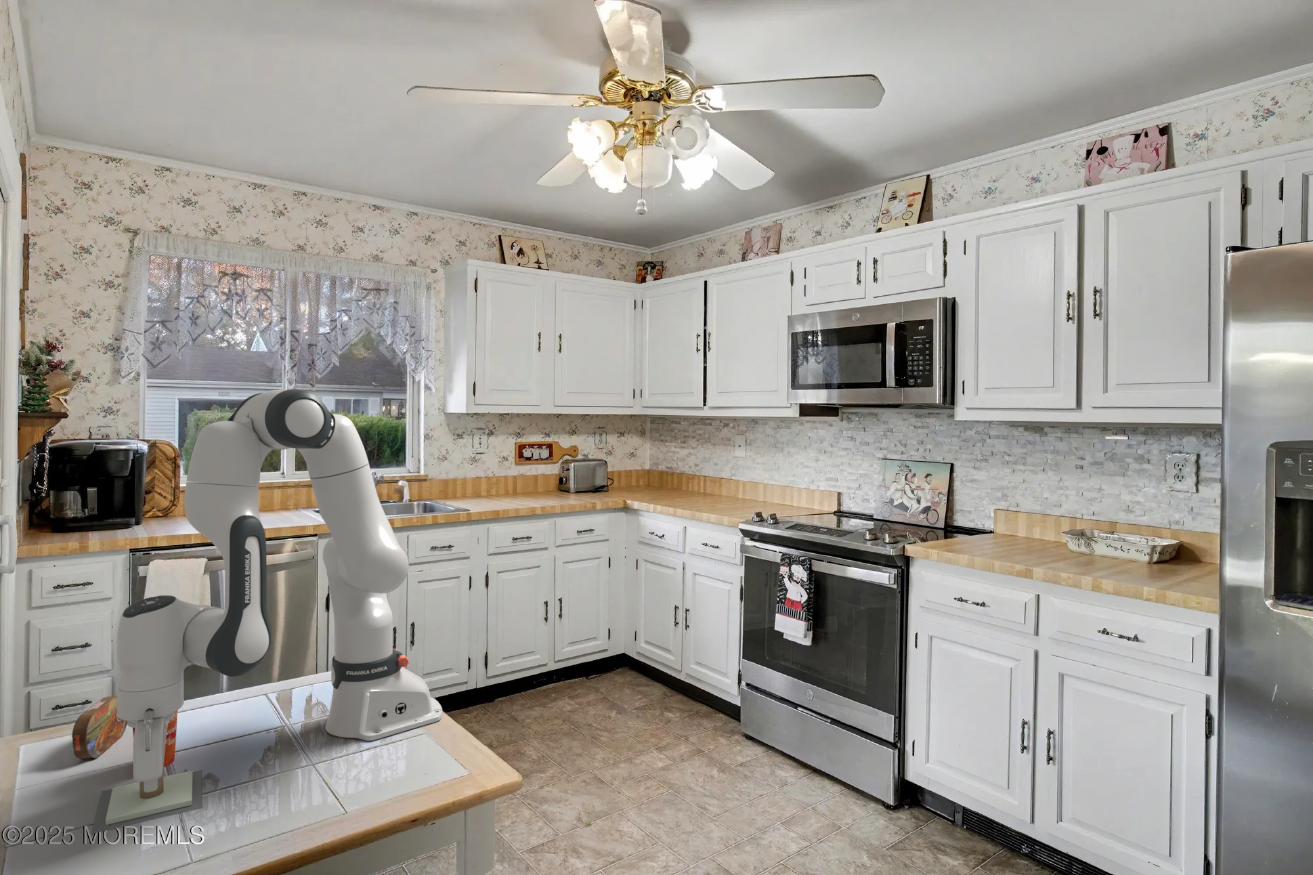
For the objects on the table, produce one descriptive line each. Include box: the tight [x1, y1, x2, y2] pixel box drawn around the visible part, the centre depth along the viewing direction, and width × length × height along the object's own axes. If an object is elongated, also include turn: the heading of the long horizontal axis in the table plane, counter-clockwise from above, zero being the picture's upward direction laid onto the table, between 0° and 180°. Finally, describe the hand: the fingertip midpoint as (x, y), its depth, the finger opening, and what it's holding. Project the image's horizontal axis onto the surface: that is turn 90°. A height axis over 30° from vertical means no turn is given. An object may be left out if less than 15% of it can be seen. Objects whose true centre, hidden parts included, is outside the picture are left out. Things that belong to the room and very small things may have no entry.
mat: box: [90, 769, 203, 835], centre depth 117 cm, size 14×14×1 cm
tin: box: [71, 694, 128, 760], centre depth 135 cm, size 15×3×8 cm, turn 13°
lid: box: [106, 768, 193, 825], centre depth 117 cm, size 11×11×4 cm
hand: (151, 783), depth 117 cm, fingers closed on lid, 3 cm apart
